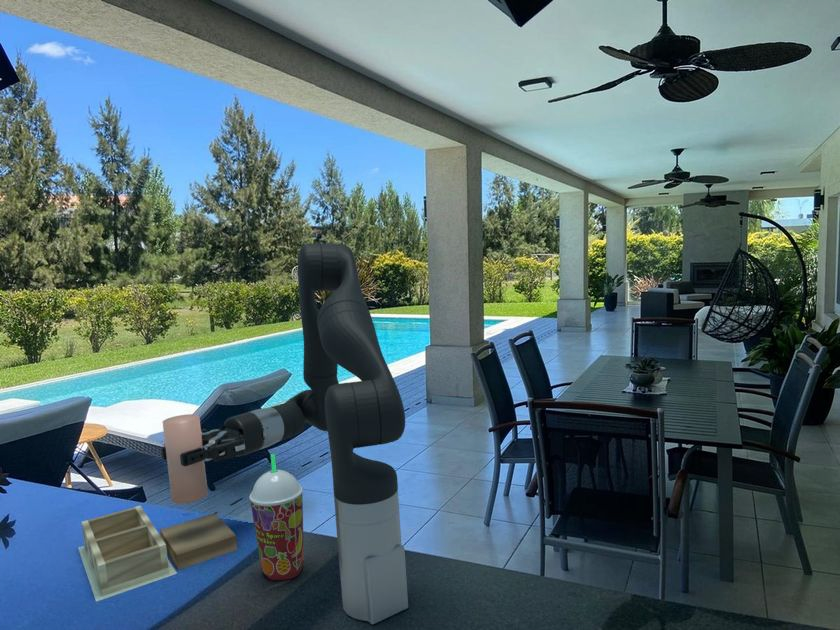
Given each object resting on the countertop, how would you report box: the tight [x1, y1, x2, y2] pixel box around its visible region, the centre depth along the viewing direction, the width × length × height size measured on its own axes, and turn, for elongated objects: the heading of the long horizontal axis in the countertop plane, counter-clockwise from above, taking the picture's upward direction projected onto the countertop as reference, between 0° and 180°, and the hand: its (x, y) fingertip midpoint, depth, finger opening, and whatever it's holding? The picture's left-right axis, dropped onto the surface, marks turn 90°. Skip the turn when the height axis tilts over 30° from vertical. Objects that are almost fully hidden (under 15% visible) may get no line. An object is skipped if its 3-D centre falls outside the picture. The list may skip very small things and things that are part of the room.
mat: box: [78, 545, 178, 603], centre depth 107 cm, size 22×12×1 cm, turn 35°
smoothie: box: [248, 453, 305, 582], centre depth 99 cm, size 8×8×20 cm
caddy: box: [81, 505, 169, 596], centre depth 107 cm, size 20×10×5 cm, turn 35°
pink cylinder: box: [162, 413, 209, 505], centre depth 108 cm, size 6×6×14 cm
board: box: [159, 512, 238, 571], centre depth 110 cm, size 12×10×3 cm
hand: (172, 457), depth 106 cm, fingers closed on pink cylinder, 6 cm apart
